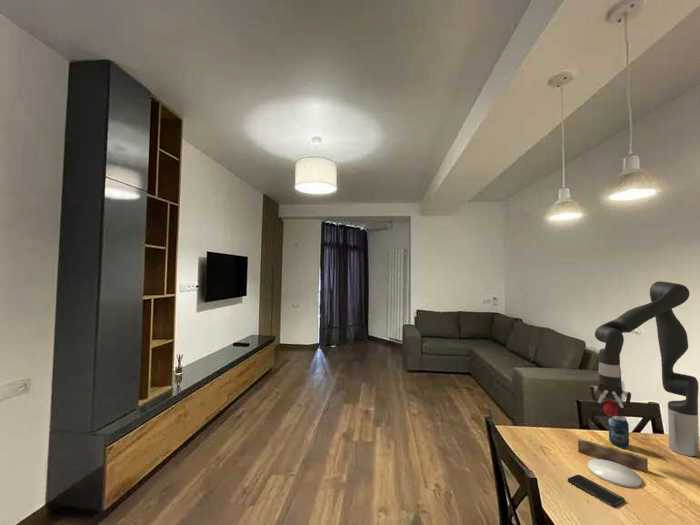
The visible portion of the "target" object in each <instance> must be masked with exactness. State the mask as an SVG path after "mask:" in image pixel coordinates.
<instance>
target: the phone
mask: <svg viewBox="0 0 700 525" xmlns="http://www.w3.org/2000/svg"><path fill="white" fill-rule="evenodd" d="M568 482H569V483H568ZM567 483H568V484H570V483H571V484H570V485H572V486H573V485H574V486H573V487H575V486H576V487H575V488H576V489H579V490H580V489H581V490H580V491H582V492H584V493H586V494H587V495H589V494H590V495H589V496H591V497H593V496H594V497H593V498H594V499H596V498H597V499H596V500H598V499H599V501H600V502H602V503H604V504H605V505H607V506H609V507H611V508H618V507H619V506H621V505H623V504H624V503H626V499H625V498H624V497H623V496H622V495H619V494H617V493H615V492H613V491H612V490H610V489H608V488H606V487H604V486H603V485H600V484H598V483H597V482H594V481H592V480H591V479H590V478H589V479H588V478H587V477H585V476H583V475H580V474H575V475H573V476H571V477H568V478H567Z"/></svg>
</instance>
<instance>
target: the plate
mask: <svg viewBox="0 0 700 525" xmlns="http://www.w3.org/2000/svg"><path fill="white" fill-rule="evenodd" d="M588 468H589V469H588ZM587 469H588V470H589V471H590V472H591V473H592V474H593V475H594V476H596V477H597V476H598V477H597V478H599V479H601V480H602V481H606V482H607V481H608V483H609V484H612V483H613V485H615V486H619V487H624V488H625V487H626V488H637V487H638V488H639V487H641V486H642V484H643V480H642V477H641V476H640V475H639V474H638V473H637V472H636V471H634V470H633V469H632V468H630V467H627V466H623V465H621V464H618V463H615V462H612V461H608V460H603V459H600V458H594V459H590V460H589V461H588V462H587Z"/></svg>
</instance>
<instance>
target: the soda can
mask: <svg viewBox="0 0 700 525" xmlns="http://www.w3.org/2000/svg"><path fill="white" fill-rule="evenodd" d="M627 420H628V419H627V418H626V417H623V416H622V417H621V416H619V415H616V416H614V417H609V418H608V440H609V442H610V444H611V445H613V446H615V447H617V448H621V449H627V448H628V447H629V446H630V431H629V429H630V428H629V422H628V421H627Z"/></svg>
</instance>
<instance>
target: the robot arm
mask: <svg viewBox="0 0 700 525" xmlns="http://www.w3.org/2000/svg"><path fill="white" fill-rule="evenodd" d="M649 297H650V301H651V302H649V303H646V304H643V305H638V306H637V307H633V308H631V309H628V310H627V311H625V312H624V313H623V314H621V315H619V316H618V317H616V318H615V319H613V320H611V321H608V322H606V323H603V324H601V325H600V326H598V327H597V328H596V329H595V331H594V338H595V339H596V340H598V341H600V342H601V343H605V346H604V348H600V350H599V351H598V385H593V384H591V385H590V387H589V389H590V394H591V398H592V401H595V402H596V403H597V410H598V411H599V412H600V413H602V412H603V409H602V404H603V400H604V399H605V398H606V399H607V398H608V399H609V398H611V399H613V400H616V402H617V405H618V407H619V413H618V416H621V417H623V416H624V414H625V411H624V409H625V408H630V404H631V400H632V399H631V398H632V393H631V392H630V391H625V390H623V387H622V369H621V353H622V350H623V346H624V343H625V342H624V341H625V337H624V335H623V334H624V333H625V334H626V333H631V332H633V331H635V330H636V329H637V328H639V327H640V326H642V325H643V324H645V323H646V322H648V321H649V320H652V319H653V318H655V323H656V330H657V340H658V341H657V342H658V345H659V353H660V360H661V362H660V363H661V381H662V387H663V389H664V391H665V392H667V393H670V394H673V395H679V396H682V397H685V399H683V400H670V401H668V402H667V412H668V413H667V415H668V416H667V417H668V418H667V419H668V420H667V422H668V423H667V424H668V425H667V426H668V448H669V449H671V450H672V451H674V452H676V453H679V454H681V455H683V456H689V457H693V456H697V457H699V456H700V435H699V434H700V431H699V381H698V379H697V378H696V377H695V376H693V375H689V374H684V373H677V372H674V366H675V364H676V363H677V362H678V360H680V359H681V358H682V356H683V355H685V353H686V352H687V351H688V349H689V340H688V338H689V337H688V334H687V333H688V332H687V330H686V329H685V327H684V325H682V323H681V322H680V320H679V319H678V317H677V316H676V314H675V313H674V311H673V309H674V308H676V307H680V306H681V305H683V304H684V303H686V302H687V301H688V300H689V297H690V290H689V288H688V287H687V286H686V285H685V284H684V285H683V284H680V283H675V282H669V281H660V280H659V281H655V282H653V283H652V284H651V286H650V288H649ZM597 391H599V393H601V394H600V395H599V397H597V395H596V392H597ZM622 395H624V397H625V402H624V403H623V401H622V399H621V397H620V396H622Z"/></svg>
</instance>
